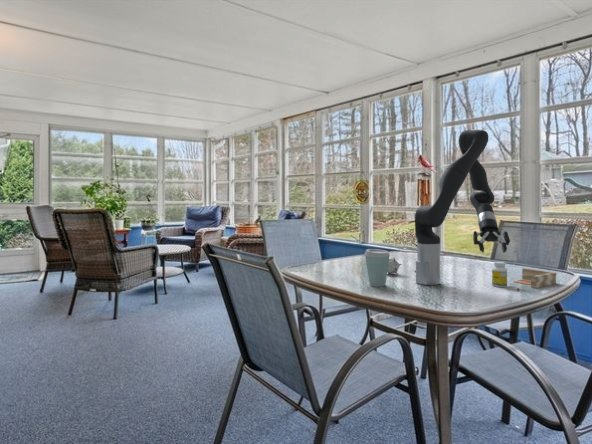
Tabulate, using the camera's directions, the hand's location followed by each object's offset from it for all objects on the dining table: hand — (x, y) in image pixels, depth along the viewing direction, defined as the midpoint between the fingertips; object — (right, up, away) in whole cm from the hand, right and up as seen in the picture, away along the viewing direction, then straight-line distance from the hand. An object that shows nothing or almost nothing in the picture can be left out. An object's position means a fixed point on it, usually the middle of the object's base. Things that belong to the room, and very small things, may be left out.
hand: (493, 251), depth 167 cm
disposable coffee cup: (-51, -14, -4) cm, 53 cm away
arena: (+13, -13, -3) cm, 19 cm away
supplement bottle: (-2, -14, -9) cm, 17 cm away
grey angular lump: (-39, -13, +20) cm, 46 cm away
